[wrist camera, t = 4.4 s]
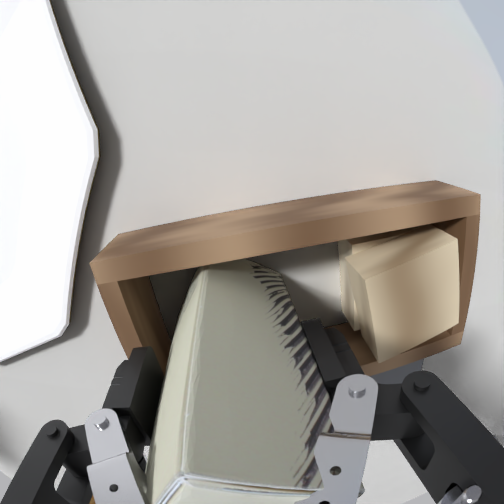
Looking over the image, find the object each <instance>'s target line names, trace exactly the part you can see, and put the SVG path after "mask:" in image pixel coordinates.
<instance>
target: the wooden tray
mask: <svg viewBox="0 0 504 504" xmlns="http://www.w3.org/2000/svg"><path fill="white" fill-rule="evenodd" d="M479 221H480V194H478V193H475V192H472V191H469V190H466V189H463V188H459V187H456V186H453V185H450V184H446V183H443V182H440V181H427V182H418V183H410V184H402V185H394V186H386V187H379V188H371V189H364V190H357V191H350V192H343V193H336V194H330V195H323V196H317V197H310V198H304V199H298V200H292V201H286V202H280V203H274V204H268V205H262V206H256V207H251V208H245V209H240V210H234V211H229V212H224V213H218V214H213V215H208V216H203V217H198V218H192V219H187V220H183V221H178V222H173V223H168V224H163V225H158V226H154V227H149V228H144V229H140V230H135V231H131V232H126V233H122V234H118V235H117V236H116V237H115V238H114V239H113V240H112V241H111V242H110V243H109V244H108V245H107V246H106V247H105V248H104V249H103V250H102V251H101V252H100V253H99V254H98V255H97V256H96V257H95V258H94V259H93V260H92V261H91V262H90V266H91V269H92V272H93V275H94V278H95V281H96V283H97V286H98V289H99V291H100V294H101V297H102V299H103V302H104V304H105V307H106V309H107V312H108V314H109V317H110V319H111V322H112V324H113V326H114V329H115V331H116V333H117V336H118V338H119V340H120V342H121V345H122V347H123V349H124V351H125V353H126V355H127V358H128V360H129V357H130V354H131V352H132V349H133V348H137V347H146V346H151V347H152V348H153V350H154V353H155V355H156V357H157V360H158V362H159V364H160V367H161V369H162V371H163V374H164V375H165V371H166V367H167V362H168V358H169V353H170V349H171V345H172V343H171V340H170V338H169V335H168V332H167V329H166V327H165V324H164V321H163V318H162V315H161V312H160V309H159V306H158V303H157V300H156V297H155V294H154V291H153V288H152V285H151V282H150V279H149V275H154V274H160V273H166V272H171V271H177V270H182V269H188V268H193V267H199V266H204V265H210V264H215V263H221V262H226V261H232V260H237V259H243V258H248V257H254V256H259V255H265V254H270V253H276V252H281V251H287V250H292V249H297V248H303V247H308V246H314V245H319V244H324V243H330V242H335V241H341V240H346V239H351V238H357V237H362V236H367V235H373V234H378V233H383V232H389V231H394V230H399V229H405V228H410V227H415V226H420V225H426V224H431V225H433V226H435V227H436V228H438V229H440V230H442V231H444V232H446V233H448V234H450V235H451V236H453V237H455V238H457V239H458V253H459V323H458V324H456V325H455V326H453V327H451V328H449V329H448V330H446V331H444V332H442V333H440V334H438V335H436V336H435V337H433V338H431V339H429V340H427V341H425V342H423V343H421V344H419V345H417V346H415V347H413V348H411V349H409V350H407V351H405V352H403V353H401V354H399V355H397V356H394V357H392V358H390V359H388V360H386V361H383V362H381V363H378V361H377V360H376V358H375V356H374V355H373V353H372V351H371V350H370V348H369V347H368V345H367V343H366V342H365V340H364V338H363V337H362V334H361V329H360V330H356V331H354V330H353V328H352V327H351V325H350V323H349V322H348V323H343V324H339V325H335V326H331V327H326V328H324V329H329V328H333V327H334V328H335V329H337V330H338V331H340V332H341V333H343V335H344V337H345V339H346V340H347V343H348V344H349V346H350V348H351V350H352V351H353V353H354V355H355V357H356V359H357V361H358V363H359V364H360V366H361V368H362V370H363V372H364V374H365V375H367V376H372V375H376V374H379V373H382V372H385V371H388V370H392V369H395V368H398V367H401V366H404V365H407V364H409V363H412V362H415V361H418V360H421V359H423V358H426V357H429V356H432V355H434V354H437V353H439V352H442V351H444V350H447V349H449V348H452V347H454V346H457V345H459V344H461V340H462V336H463V331H464V327H465V323H466V318H467V313H468V308H469V303H470V297H471V292H472V285H473V279H474V272H475V264H476V256H477V246H478V235H479Z"/></svg>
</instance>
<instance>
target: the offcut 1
mask: <svg viewBox="0 0 504 504" xmlns="http://www.w3.org/2000/svg"><path fill="white" fill-rule="evenodd" d="M426 225H427V224H426ZM422 226H424V225H420V226H415V227H410V228H405V229H399V230H394V231H389V232H383V233H378V234H373V235H367V236H362V237H357V238H351V239H346V240H341V241H338V251H339V266H340V284H341V308H342V312H343V314H344V315H345V317H346V319H347V320H348V322H349V323H350V325H351V327H352V328H353V330H354V331H356V330H360V324H359V319H358V314H357V310H356V305H355V300H354V296H353V292H352V287H351V283H350V279H349V274H348V270H347V266H346V262H345V257H347V256H350V255H352V254H355V253H357V252H360V251H363V250H365V249H368V248H370V247H373V246H375V245H378V244H380V243H383V242H385V241H388V240H390V239H393V238H395V237H397V236H400V235H402V234H405V233H407V232H410V231H412V230H415V229H417V228H419V227H422Z"/></svg>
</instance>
